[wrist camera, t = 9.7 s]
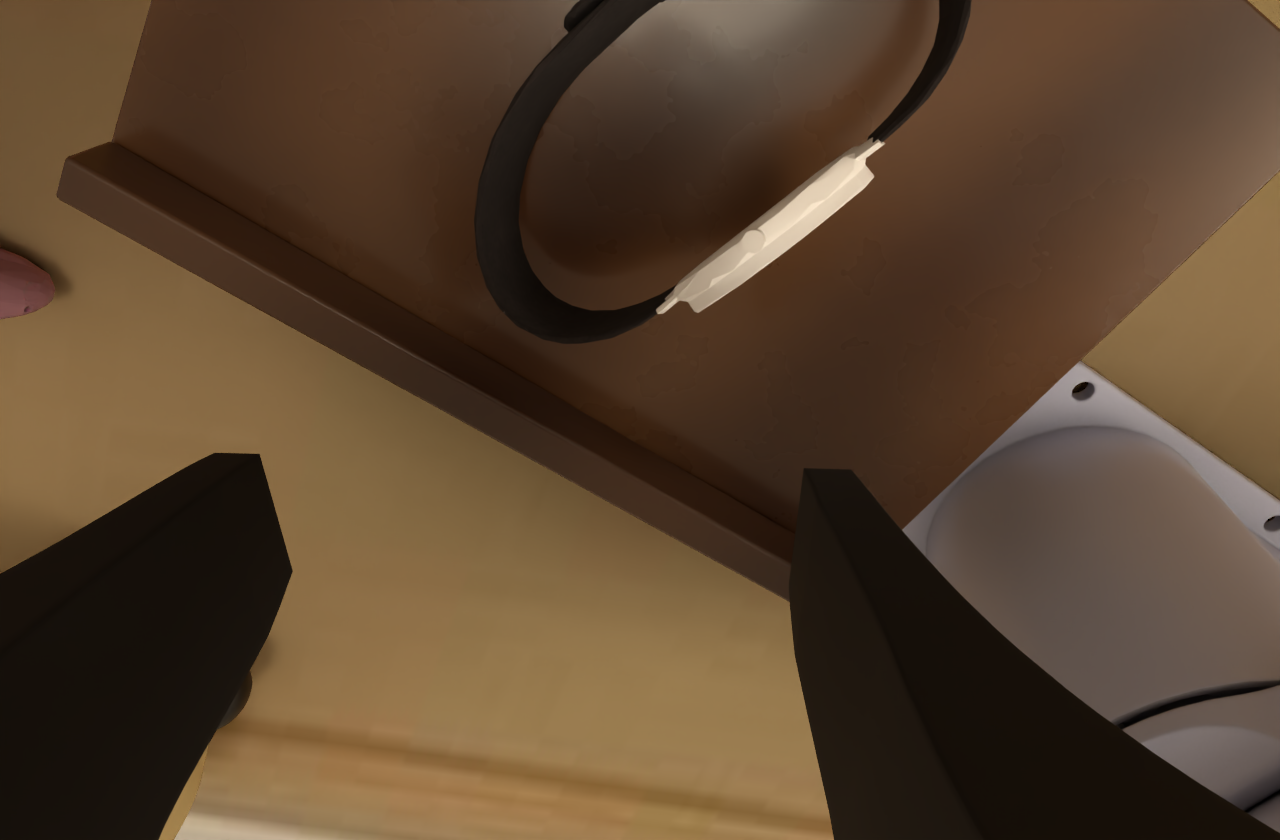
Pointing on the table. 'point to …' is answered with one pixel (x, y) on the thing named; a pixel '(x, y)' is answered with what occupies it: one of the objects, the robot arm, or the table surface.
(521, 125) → the watch
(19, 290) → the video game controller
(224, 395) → the table surface
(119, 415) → the table surface
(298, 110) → the shelf rack
